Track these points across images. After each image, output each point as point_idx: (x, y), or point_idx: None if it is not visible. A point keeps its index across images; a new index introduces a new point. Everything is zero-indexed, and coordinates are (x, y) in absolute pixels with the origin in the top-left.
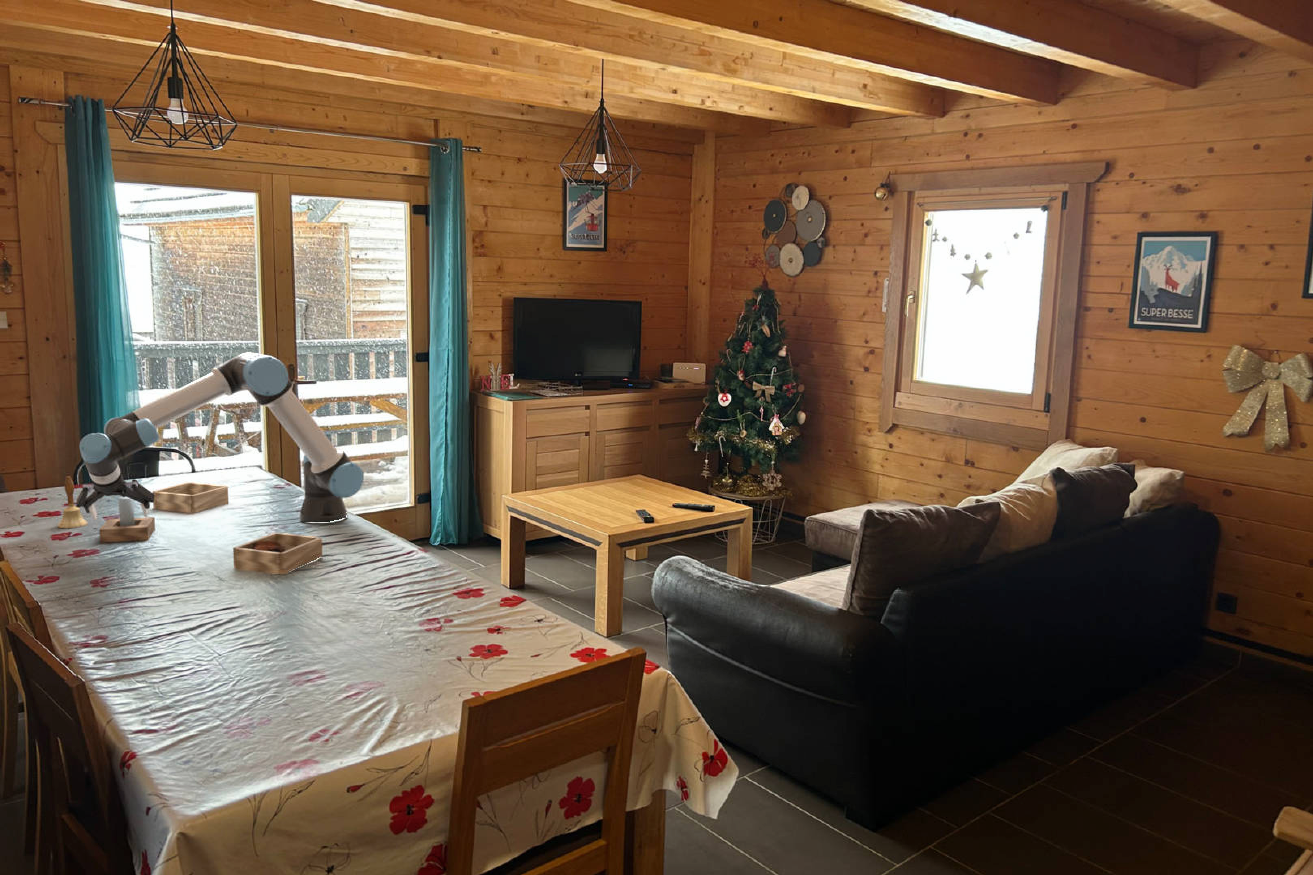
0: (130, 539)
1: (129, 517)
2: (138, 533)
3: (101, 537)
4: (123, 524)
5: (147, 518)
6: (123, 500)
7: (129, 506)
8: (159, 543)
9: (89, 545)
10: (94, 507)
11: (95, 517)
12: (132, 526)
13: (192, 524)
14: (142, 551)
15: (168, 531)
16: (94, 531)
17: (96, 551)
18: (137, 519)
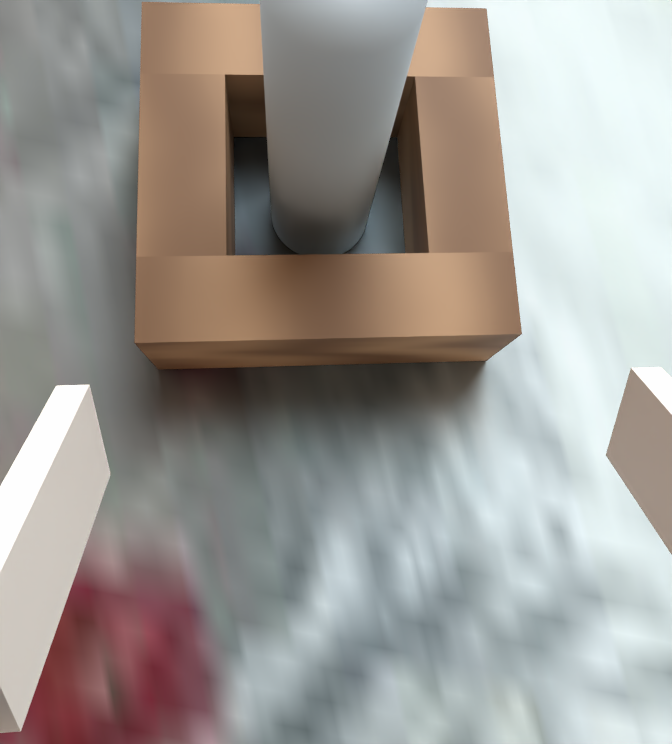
0: (370, 362)
1: (361, 175)
2: (437, 348)
3: (163, 359)
4: (304, 208)
5: (445, 41)
6: (333, 64)
7: (382, 106)
8: (593, 482)
9: None
10: (44, 510)
11: (95, 506)
12: (392, 283)
13: (666, 5)
14: (533, 713)
15: (562, 152)
16: (60, 43)
17: (183, 644)
18: None
